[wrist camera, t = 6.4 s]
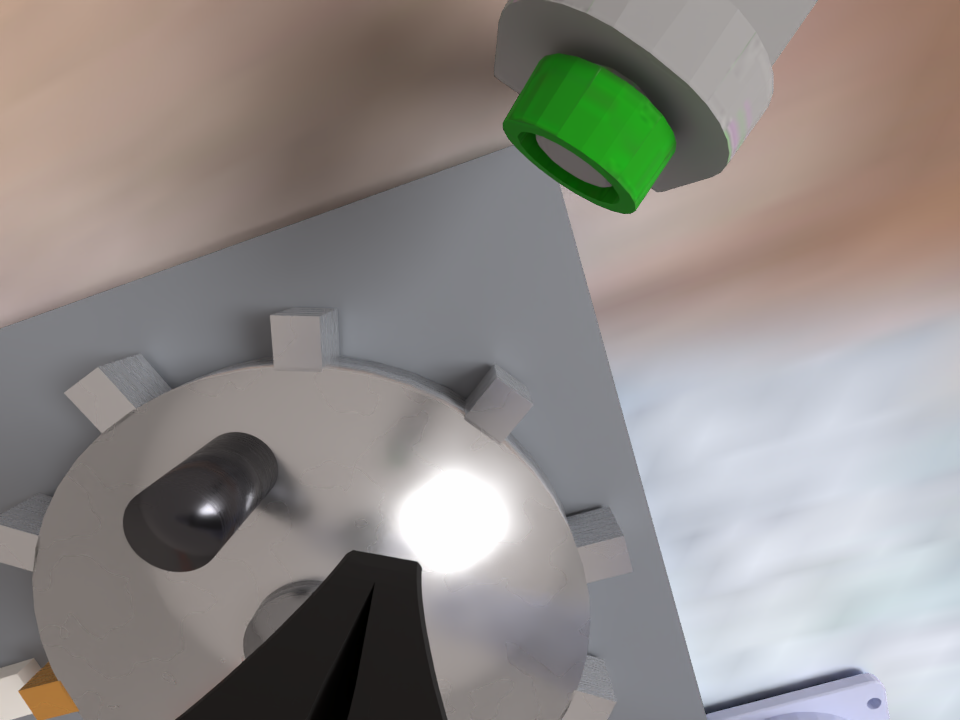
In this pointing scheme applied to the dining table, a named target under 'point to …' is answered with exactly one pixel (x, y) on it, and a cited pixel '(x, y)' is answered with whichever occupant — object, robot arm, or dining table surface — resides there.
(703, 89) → the mechanical component
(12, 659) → the index board
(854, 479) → the dining table surface
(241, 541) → the sprocket
